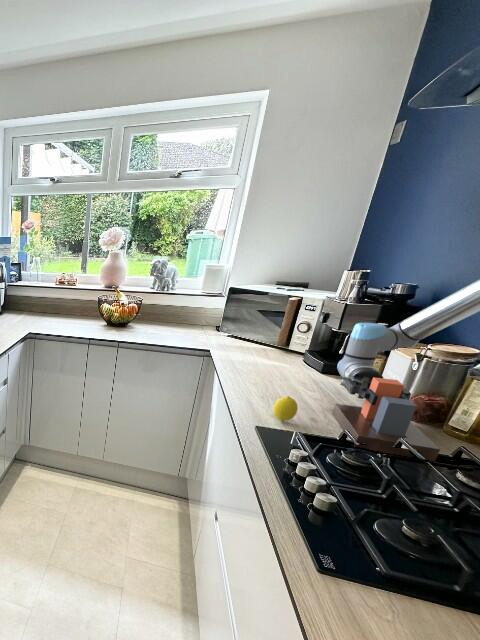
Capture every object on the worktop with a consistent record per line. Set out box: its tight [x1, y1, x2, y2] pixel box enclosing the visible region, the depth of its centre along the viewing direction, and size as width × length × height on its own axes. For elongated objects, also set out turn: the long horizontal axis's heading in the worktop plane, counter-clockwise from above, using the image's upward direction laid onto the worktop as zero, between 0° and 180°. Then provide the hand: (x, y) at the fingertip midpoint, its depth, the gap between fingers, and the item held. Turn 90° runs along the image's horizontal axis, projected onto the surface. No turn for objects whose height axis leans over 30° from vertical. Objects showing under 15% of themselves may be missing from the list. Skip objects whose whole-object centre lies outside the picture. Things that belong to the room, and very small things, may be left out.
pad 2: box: [372, 396, 417, 437], centre depth 104 cm, size 5×5×12 cm
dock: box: [331, 403, 441, 463], centre depth 110 cm, size 15×25×4 cm, turn 149°
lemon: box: [272, 395, 298, 422], centre depth 118 cm, size 6×6×8 cm
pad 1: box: [360, 377, 405, 420], centre depth 112 cm, size 5×5×12 cm
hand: (389, 402), depth 107 cm, fingers closed on pad 1, 5 cm apart
